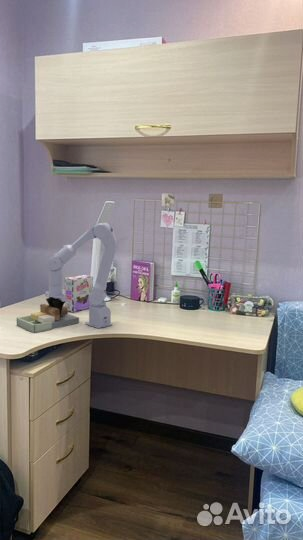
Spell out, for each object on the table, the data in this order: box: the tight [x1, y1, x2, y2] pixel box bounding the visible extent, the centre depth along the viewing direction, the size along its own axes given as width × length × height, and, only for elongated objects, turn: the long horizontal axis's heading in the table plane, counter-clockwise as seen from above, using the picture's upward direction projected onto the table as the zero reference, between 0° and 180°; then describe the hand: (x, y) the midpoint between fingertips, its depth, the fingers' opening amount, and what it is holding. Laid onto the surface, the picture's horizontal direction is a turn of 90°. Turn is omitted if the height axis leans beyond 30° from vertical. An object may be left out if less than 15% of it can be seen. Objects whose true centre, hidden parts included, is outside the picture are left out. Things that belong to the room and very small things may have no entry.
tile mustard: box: [30, 311, 47, 321], centre depth 184 cm, size 5×5×2 cm
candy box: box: [64, 274, 94, 314], centre depth 210 cm, size 14×6×16 cm, turn 143°
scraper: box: [39, 303, 69, 320], centre depth 187 cm, size 12×9×4 cm
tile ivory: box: [38, 315, 55, 323], centre depth 180 cm, size 5×5×2 cm
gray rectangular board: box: [16, 313, 80, 334], centre depth 185 cm, size 15×22×3 cm
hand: (56, 314), depth 187 cm, fingers closed on scraper, 3 cm apart
